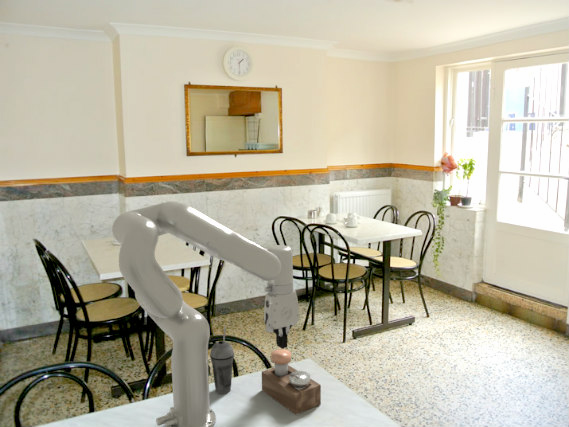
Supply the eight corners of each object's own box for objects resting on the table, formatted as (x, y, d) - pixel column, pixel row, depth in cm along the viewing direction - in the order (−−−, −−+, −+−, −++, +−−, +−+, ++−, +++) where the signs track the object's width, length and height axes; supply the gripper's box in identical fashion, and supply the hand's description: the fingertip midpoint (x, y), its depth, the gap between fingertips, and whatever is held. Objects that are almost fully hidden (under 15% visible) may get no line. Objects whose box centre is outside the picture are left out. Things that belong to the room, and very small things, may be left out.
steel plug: (297, 408, 138) (297, 383, 137) (285, 399, 143) (284, 374, 142) (314, 401, 142) (314, 376, 141) (301, 392, 147) (301, 369, 146)
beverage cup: (208, 387, 152) (205, 325, 149) (230, 382, 155) (228, 321, 152) (215, 398, 146) (212, 334, 143) (238, 393, 149) (236, 330, 146)
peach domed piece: (279, 383, 145) (278, 359, 144) (267, 376, 150) (267, 352, 149) (295, 377, 149) (295, 354, 147) (283, 370, 153) (283, 347, 152)
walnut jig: (295, 414, 137) (295, 394, 136) (261, 390, 150) (261, 371, 150) (320, 404, 142) (320, 384, 141) (285, 381, 156) (285, 363, 155)
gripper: (266, 296, 138) (268, 358, 141) (308, 285, 146) (309, 344, 149) (252, 289, 144) (254, 349, 147) (293, 279, 152) (294, 336, 155)
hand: (282, 346), depth 148 cm, fingers closed
